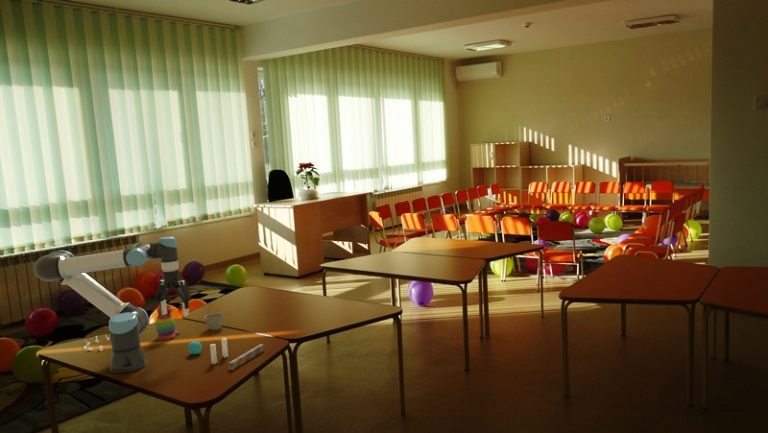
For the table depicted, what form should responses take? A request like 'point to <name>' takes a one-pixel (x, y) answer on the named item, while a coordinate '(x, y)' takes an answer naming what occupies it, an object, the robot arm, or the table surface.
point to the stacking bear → (166, 324)
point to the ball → (194, 347)
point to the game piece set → (92, 348)
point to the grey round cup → (214, 320)
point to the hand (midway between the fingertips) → (175, 314)
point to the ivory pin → (224, 347)
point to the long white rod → (246, 357)
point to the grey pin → (213, 353)
